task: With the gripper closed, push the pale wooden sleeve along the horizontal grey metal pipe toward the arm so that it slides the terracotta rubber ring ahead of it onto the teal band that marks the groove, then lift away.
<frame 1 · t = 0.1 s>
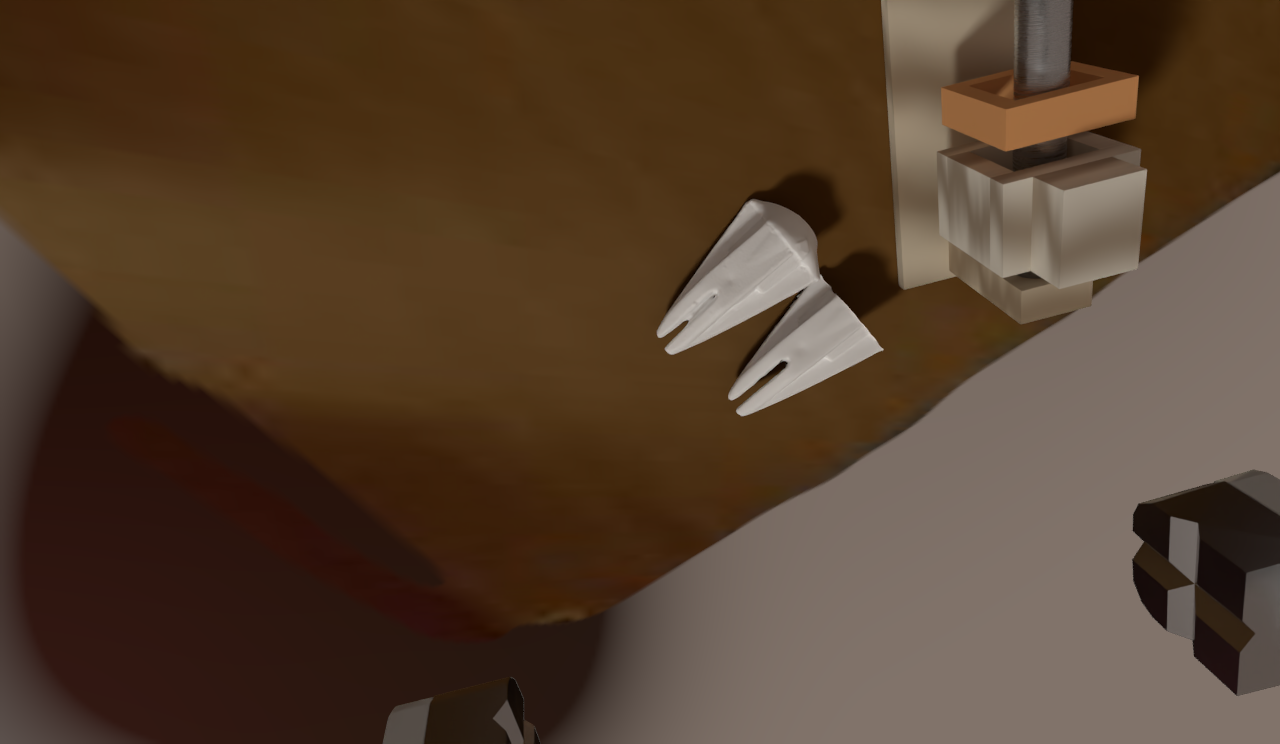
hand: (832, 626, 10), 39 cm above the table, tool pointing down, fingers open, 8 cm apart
pair of white wedges: (744, 303, 52), on the table
stand: (970, 73, 47), on the table
sleeve: (1044, 202, 43), point 8 cm above the table, slide at 0.0 cm
pipe: (1041, 94, 41), point 6 cm above the table
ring: (1032, 102, 42), point 6 cm above the table, slide at 0.0 cm
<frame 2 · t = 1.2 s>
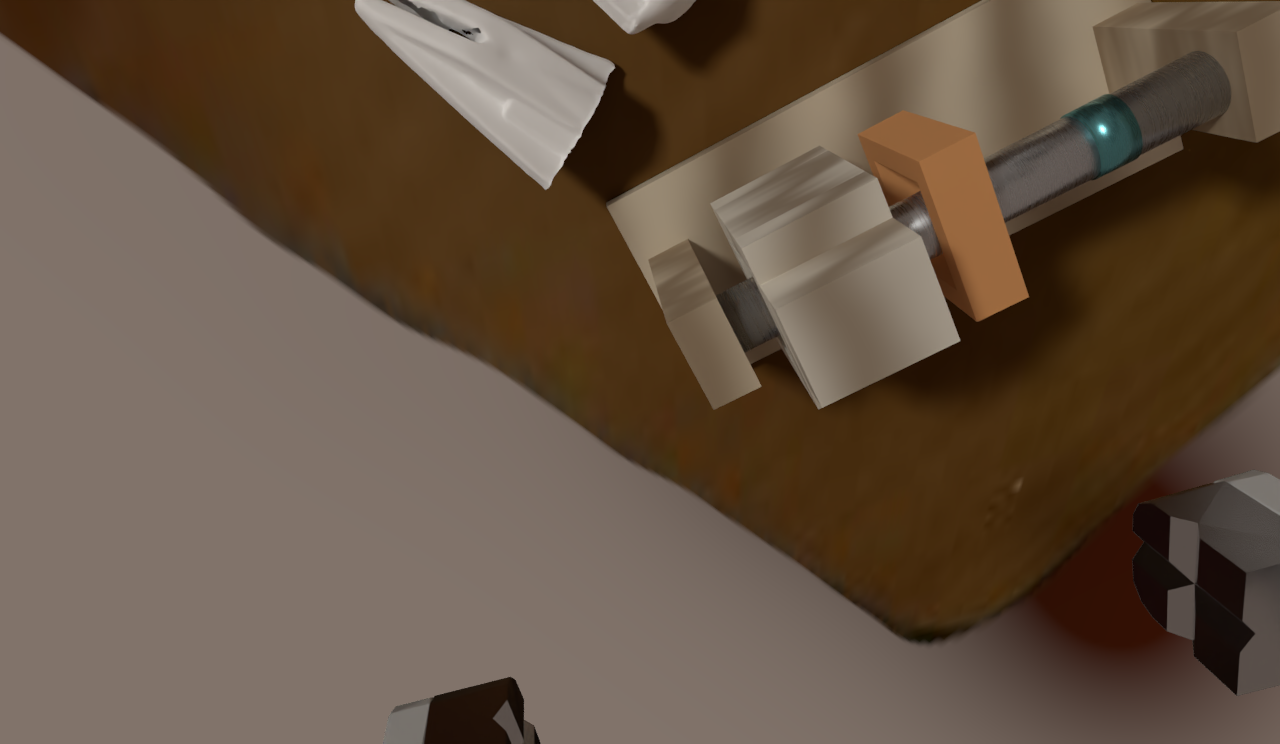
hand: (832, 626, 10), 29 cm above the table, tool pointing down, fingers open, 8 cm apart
stand: (892, 174, 37), on the table
sleeve: (828, 281, 31), point 8 cm above the table, slide at 0.0 cm
pipe: (958, 208, 31), point 6 cm above the table
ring: (938, 210, 31), point 6 cm above the table, slide at 0.0 cm
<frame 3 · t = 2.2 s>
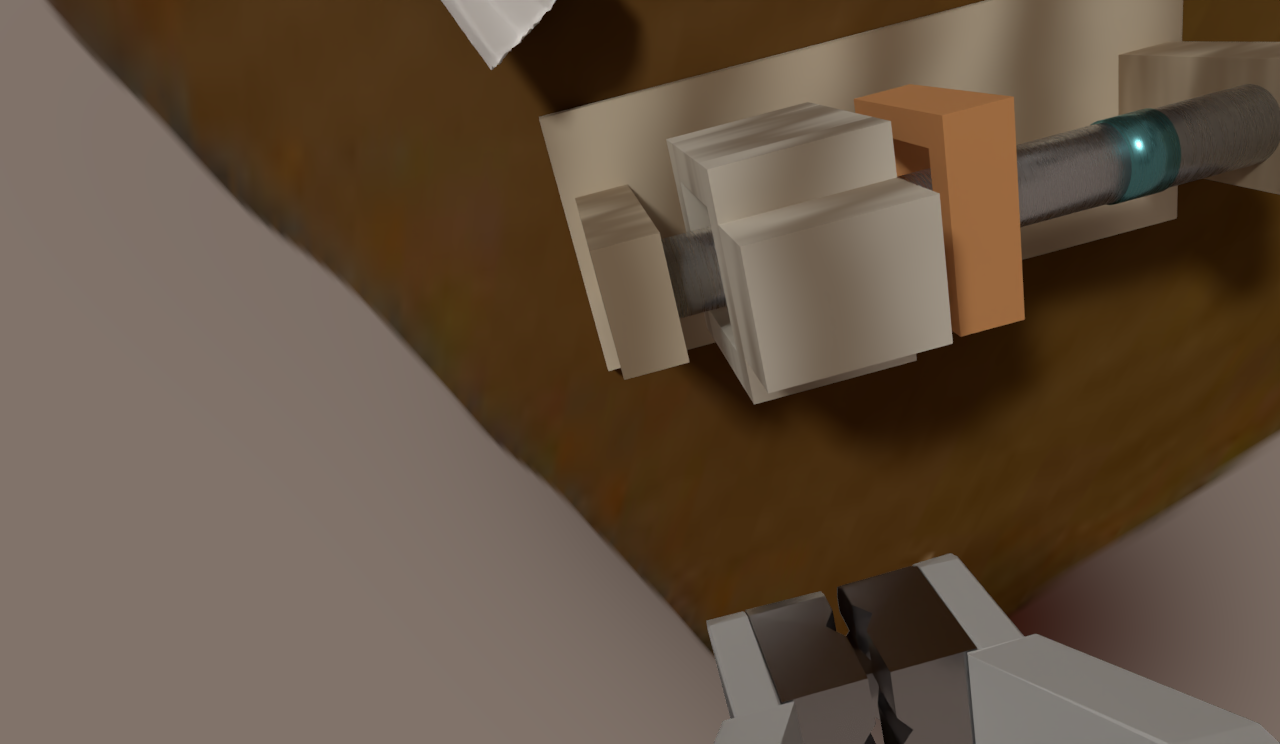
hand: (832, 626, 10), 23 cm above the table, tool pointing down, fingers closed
stand: (872, 169, 32), on the table
sleeve: (794, 251, 25), point 8 cm above the table, slide at 0.0 cm
pipe: (959, 202, 25), point 6 cm above the table
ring: (933, 202, 26), point 6 cm above the table, slide at 0.0 cm
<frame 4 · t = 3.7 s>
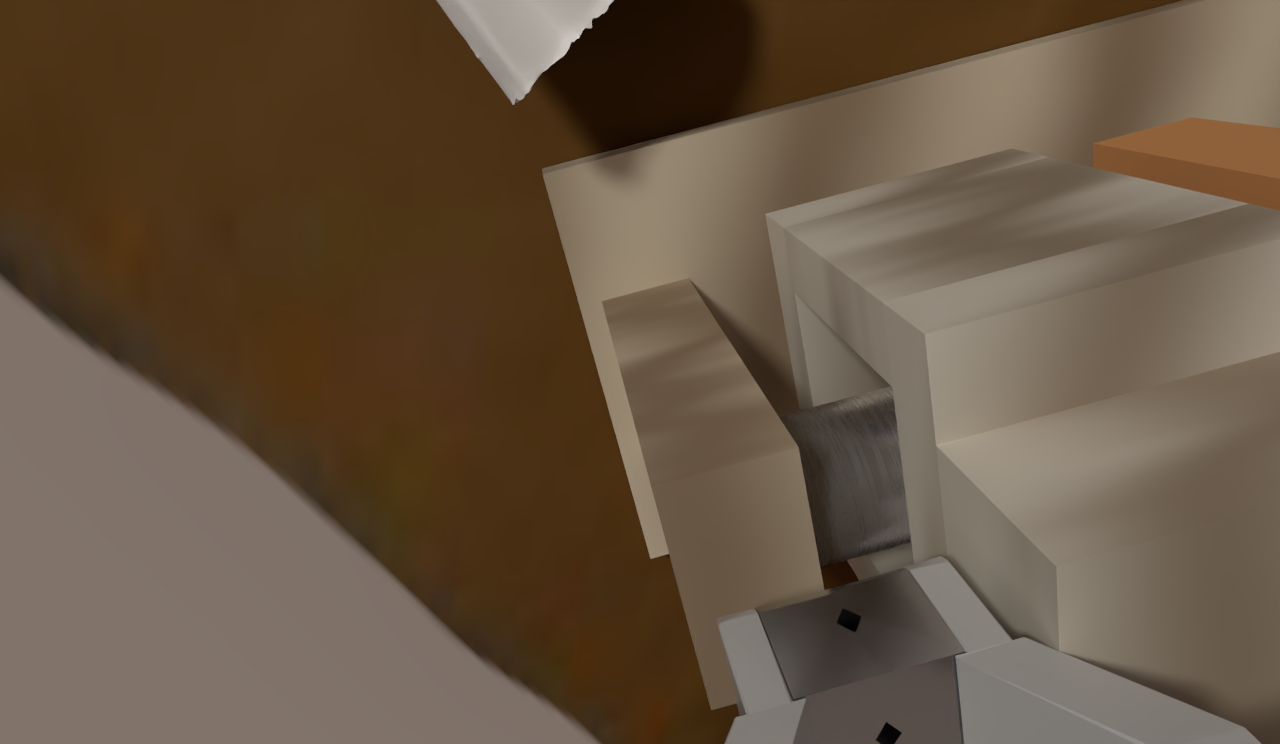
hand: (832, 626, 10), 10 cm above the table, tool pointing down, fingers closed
stand: (1074, 246, 20), on the table
sleeve: (1033, 447, 13), point 8 cm above the table, slide at 0.0 cm, touching gripper
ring: (1268, 338, 14), point 6 cm above the table, slide at 0.0 cm
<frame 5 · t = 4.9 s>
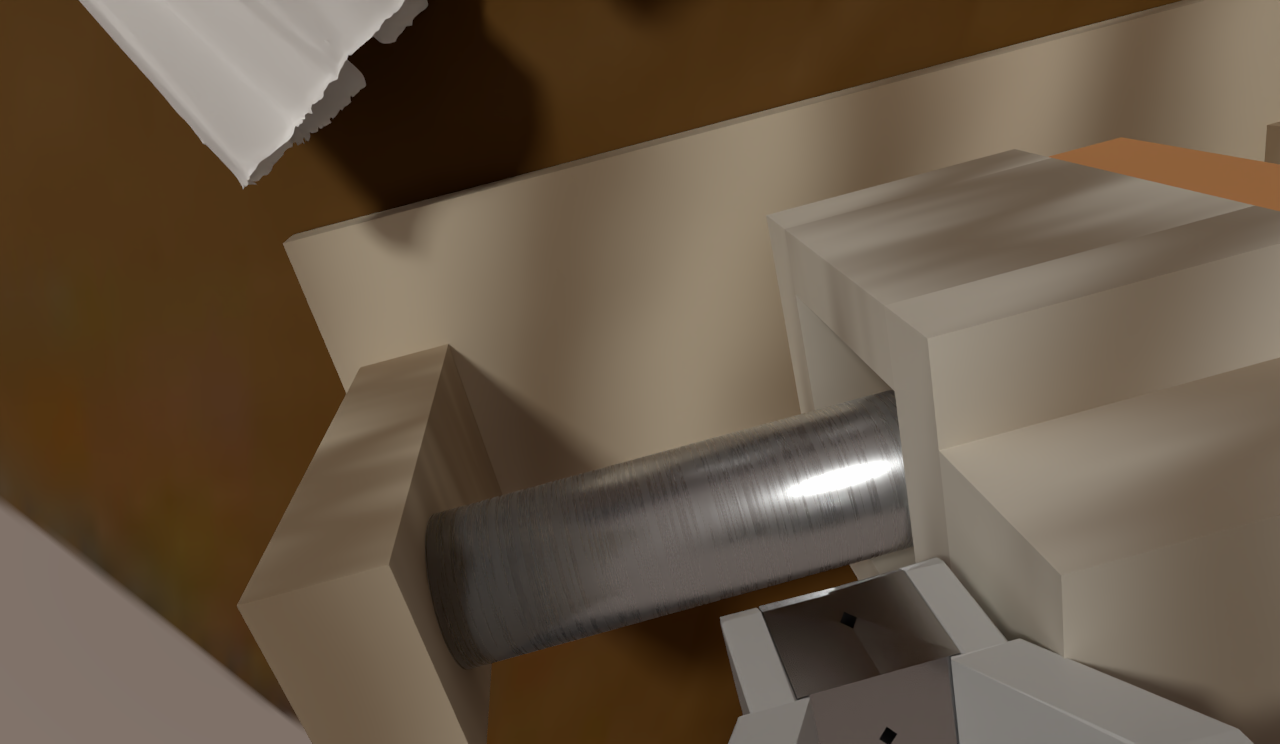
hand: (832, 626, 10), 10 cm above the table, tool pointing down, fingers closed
stand: (860, 305, 20), on the table
sleeve: (1037, 450, 13), point 8 cm above the table, slide at 5.5 cm, touching gripper, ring
pipe: (1018, 434, 13), point 6 cm above the table
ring: (1190, 363, 14), point 6 cm above the table, slide at 4.0 cm, touching sleeve
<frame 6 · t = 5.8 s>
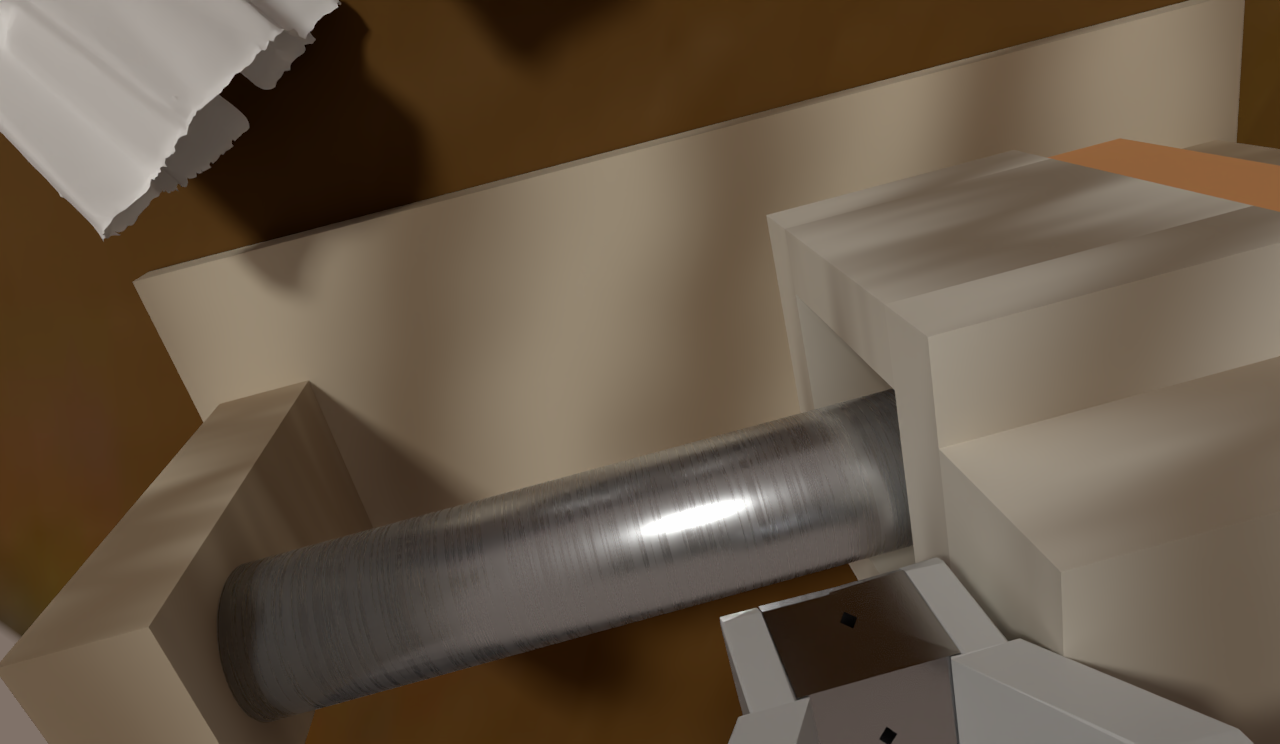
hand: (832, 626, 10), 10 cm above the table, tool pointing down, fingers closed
stand: (733, 339, 20), on the table
sleeve: (1036, 449, 13), point 8 cm above the table, slide at 8.7 cm, touching gripper, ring
pipe: (831, 484, 13), point 6 cm above the table
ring: (1189, 363, 14), point 6 cm above the table, slide at 7.2 cm, touching sleeve
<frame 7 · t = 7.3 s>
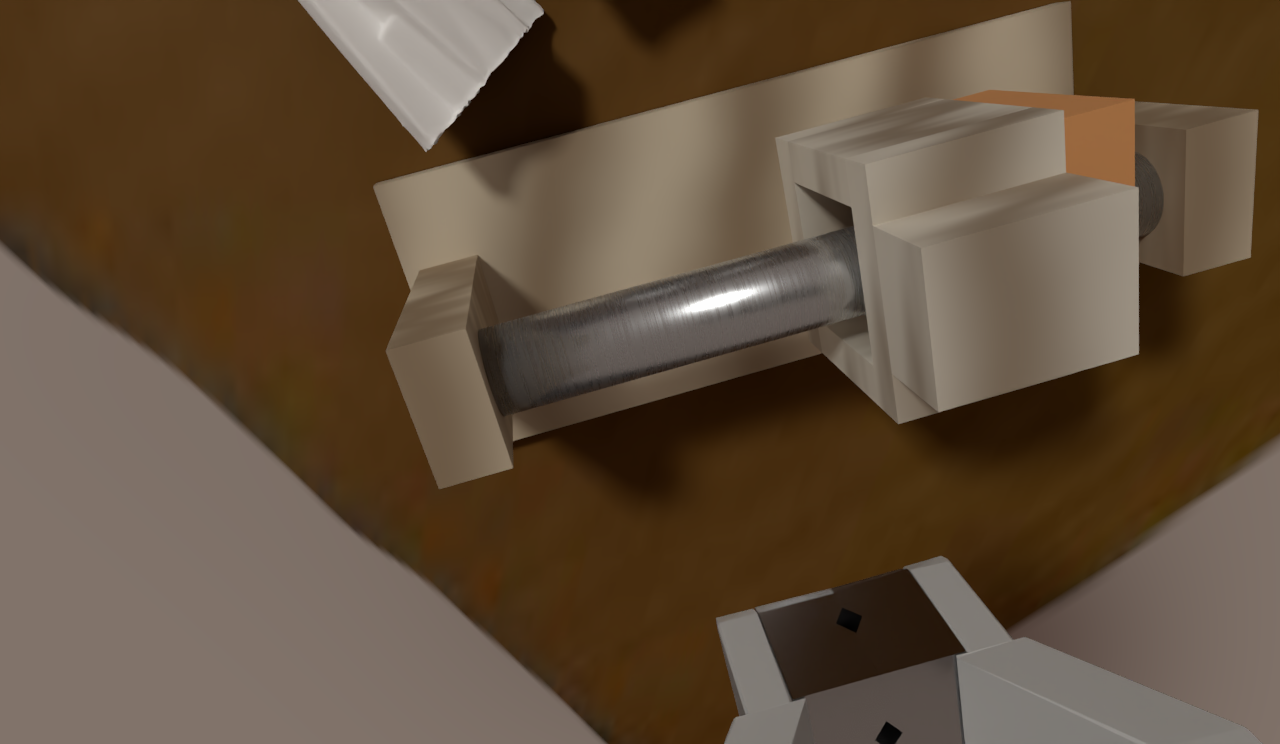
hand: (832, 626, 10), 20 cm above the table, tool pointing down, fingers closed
stand: (750, 232, 30), on the table
sleeve: (933, 256, 23), point 8 cm above the table, slide at 8.7 cm, touching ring
pipe: (818, 281, 23), point 6 cm above the table
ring: (1025, 215, 24), point 6 cm above the table, slide at 7.2 cm, touching sleeve
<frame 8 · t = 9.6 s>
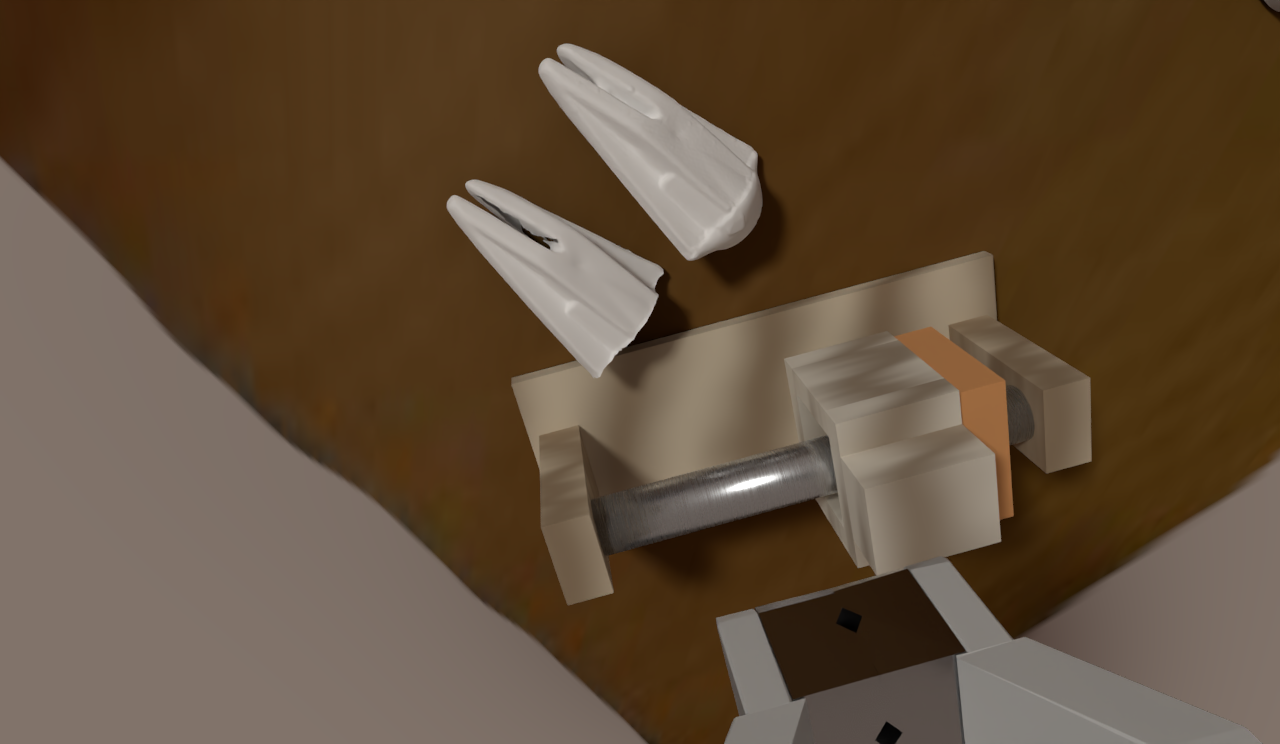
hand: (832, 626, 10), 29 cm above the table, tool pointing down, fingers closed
pair of white wedges: (602, 181, 37), on the table
stand: (766, 403, 42), on the table
sleeve: (884, 456, 35), point 8 cm above the table, slide at 8.7 cm, touching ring
pipe: (809, 469, 36), point 6 cm above the table
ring: (948, 422, 36), point 6 cm above the table, slide at 7.2 cm, touching sleeve
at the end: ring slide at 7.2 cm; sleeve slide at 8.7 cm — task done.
